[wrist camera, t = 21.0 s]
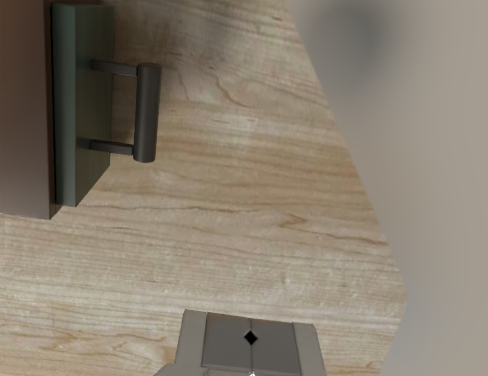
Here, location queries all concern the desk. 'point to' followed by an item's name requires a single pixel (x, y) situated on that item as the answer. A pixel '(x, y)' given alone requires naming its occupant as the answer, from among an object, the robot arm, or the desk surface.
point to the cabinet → (27, 109)
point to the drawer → (93, 99)
